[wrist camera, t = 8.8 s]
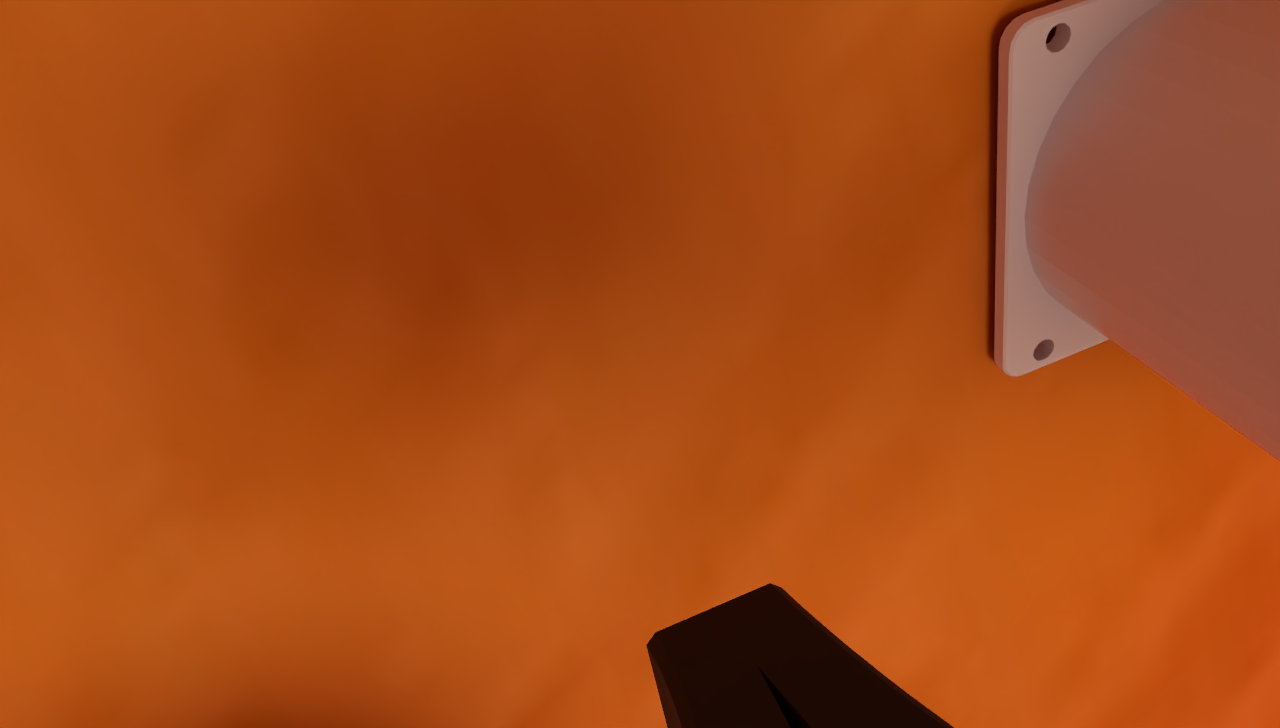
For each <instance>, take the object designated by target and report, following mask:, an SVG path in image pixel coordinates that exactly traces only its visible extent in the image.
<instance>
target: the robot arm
mask: <svg viewBox="0 0 1280 728" xmlns="http://www.w3.org/2000/svg"><path fill="white" fill-rule="evenodd" d="M1054 26H1056V27H1057V28H1056V32H1055V35H1054V37H1053V38H1052V40H1051V41H1050V42H1049V43H1047V44H1046V39H1047V35H1048V33H1049V32H1050V31H1051V29H1052V28H1053V27H1054ZM1109 339H1110V340H1111V341H1112V342H1114V343H1115V344H1117V345H1118V346H1119V347H1121V348H1122V349H1124V350H1125V351H1126V352H1128V353H1129V354H1131V355H1132V356H1133V357H1135V358H1136V359H1138V360H1139V361H1140V362H1142V363H1143V364H1145V365H1146V366H1147V367H1149V368H1150V369H1152V370H1153V371H1154V372H1156V373H1157V374H1159V375H1160V376H1161V377H1163V378H1164V379H1165V380H1167V381H1168V382H1170V383H1171V384H1172V385H1174V386H1175V387H1177V388H1178V389H1179V390H1181V391H1182V392H1184V393H1185V394H1186V395H1188V396H1189V397H1191V398H1192V399H1193V400H1195V401H1196V402H1198V403H1199V404H1200V405H1202V406H1203V407H1205V408H1206V409H1207V410H1209V411H1210V412H1212V413H1213V414H1214V415H1216V416H1217V417H1219V418H1220V419H1221V420H1223V421H1224V422H1226V423H1227V424H1228V425H1230V426H1231V427H1233V428H1234V429H1235V430H1237V431H1238V432H1240V433H1241V434H1242V435H1244V436H1245V437H1247V438H1248V439H1249V440H1251V441H1252V442H1254V443H1255V444H1256V445H1258V446H1259V447H1261V448H1262V449H1263V450H1265V451H1266V452H1268V453H1269V454H1270V455H1272V456H1273V457H1275V458H1276V459H1277V460H1279V461H1280V0H1062V1H1059V2H1056V3H1053V4H1050V5H1048V6H1045V7H1042V8H1039V9H1036V10H1033V11H1030V12H1027V13H1024V14H1022V15H1020V16H1018V17H1016V18H1014V19H1013V20H1012V21H1011V23H1010V24H1009V25H1008V26H1007V27H1006V28H1005V30H1004V32H1003V34H1002V36H1001V39H1000V45H999V69H998V135H997V201H996V268H995V334H994V360H995V364H996V365H997V366H998V367H999V368H1000V369H1001V370H1002V371H1003V372H1004V373H1006V374H1007V375H1008V376H1012V377H1016V376H1021V375H1024V374H1026V373H1029V372H1031V371H1034V370H1036V369H1038V368H1041V367H1043V366H1046V365H1048V364H1051V363H1053V362H1056V361H1058V360H1060V359H1063V358H1065V357H1068V356H1070V355H1073V354H1075V353H1078V352H1080V351H1082V350H1085V349H1087V348H1090V347H1092V346H1095V345H1097V344H1100V343H1102V342H1104V341H1107V340H1109ZM1040 342H1041V343H1040ZM1039 343H1040V344H1039ZM1038 344H1039V345H1038ZM1037 345H1038V347H1037ZM1036 347H1037V348H1036ZM647 649H648V653H649V657H650V661H651V665H652V669H653V673H654V676H655V680H656V684H657V688H658V692H659V696H660V700H661V704H662V707H663V711H664V715H665V719H666V723H667V727H668V728H954V727H952V726H951V725H950V724H948V723H947V722H946V721H944V720H943V719H941V718H940V717H939V716H937V715H936V714H935V713H933V712H932V711H931V710H929V709H928V708H926V707H925V706H924V705H922V704H921V703H920V702H918V701H917V700H916V699H914V698H913V697H911V696H910V695H909V694H907V693H906V692H905V691H904V690H902V689H901V688H900V687H898V686H897V685H896V684H895V683H893V682H892V681H891V680H889V679H888V678H887V677H885V676H884V675H883V674H882V673H880V672H879V671H878V670H877V669H875V668H874V667H873V666H872V665H871V664H869V663H868V662H867V661H866V660H864V659H863V658H862V657H861V656H859V655H858V654H857V653H856V652H854V651H853V650H852V649H851V648H849V647H848V646H847V645H846V644H845V643H843V642H842V641H841V640H840V639H839V638H838V637H836V636H835V635H834V634H833V633H832V632H830V631H829V630H828V629H827V628H826V627H825V626H823V625H822V624H821V623H820V622H819V621H818V620H816V619H815V618H814V617H813V616H812V615H811V614H810V613H809V612H807V611H806V610H805V609H804V608H803V607H802V606H801V605H800V604H799V603H797V602H796V601H795V600H794V599H793V598H792V597H791V596H790V595H789V594H788V593H787V592H786V591H784V590H783V589H782V588H781V587H779V586H776V585H773V584H771V583H770V584H767V585H765V586H763V587H760V588H758V589H756V590H753V591H751V592H749V593H746V594H744V595H742V596H739V597H737V598H735V599H732V600H730V601H728V602H725V603H723V604H721V605H718V606H716V607H714V608H711V609H709V610H707V611H704V612H702V613H700V614H697V615H695V616H693V617H690V618H688V619H686V620H683V621H681V622H679V623H676V624H674V625H672V626H670V627H667V628H665V629H663V630H660V631H658V632H656V633H655V634H654V635H653V637H652V638H651V640H650V641H649V642H648V644H647Z"/></svg>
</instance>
